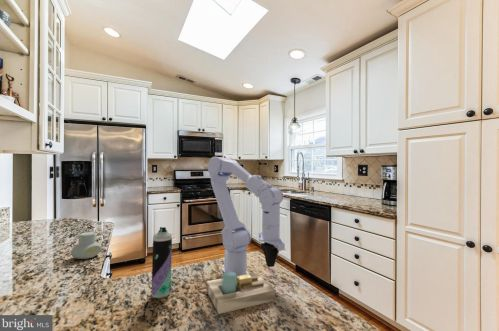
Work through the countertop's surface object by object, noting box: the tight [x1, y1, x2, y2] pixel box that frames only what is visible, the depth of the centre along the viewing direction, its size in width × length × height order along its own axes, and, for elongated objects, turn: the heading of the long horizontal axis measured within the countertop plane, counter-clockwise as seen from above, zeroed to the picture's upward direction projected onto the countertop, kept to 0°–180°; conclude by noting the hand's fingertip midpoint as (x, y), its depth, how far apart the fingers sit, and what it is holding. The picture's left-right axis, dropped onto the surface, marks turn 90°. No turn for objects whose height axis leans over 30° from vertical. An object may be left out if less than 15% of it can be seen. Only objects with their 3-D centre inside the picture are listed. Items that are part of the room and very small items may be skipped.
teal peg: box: [222, 272, 236, 295], centre depth 68 cm, size 4×4×7 cm
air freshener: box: [70, 231, 103, 260], centre depth 100 cm, size 11×8×10 cm
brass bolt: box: [237, 274, 252, 288], centre depth 70 cm, size 2×4×2 cm, turn 114°
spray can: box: [151, 226, 173, 299], centre depth 71 cm, size 6×6×20 cm
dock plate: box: [206, 271, 276, 315], centre depth 70 cm, size 13×17×4 cm
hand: (270, 266), depth 76 cm, fingers closed
